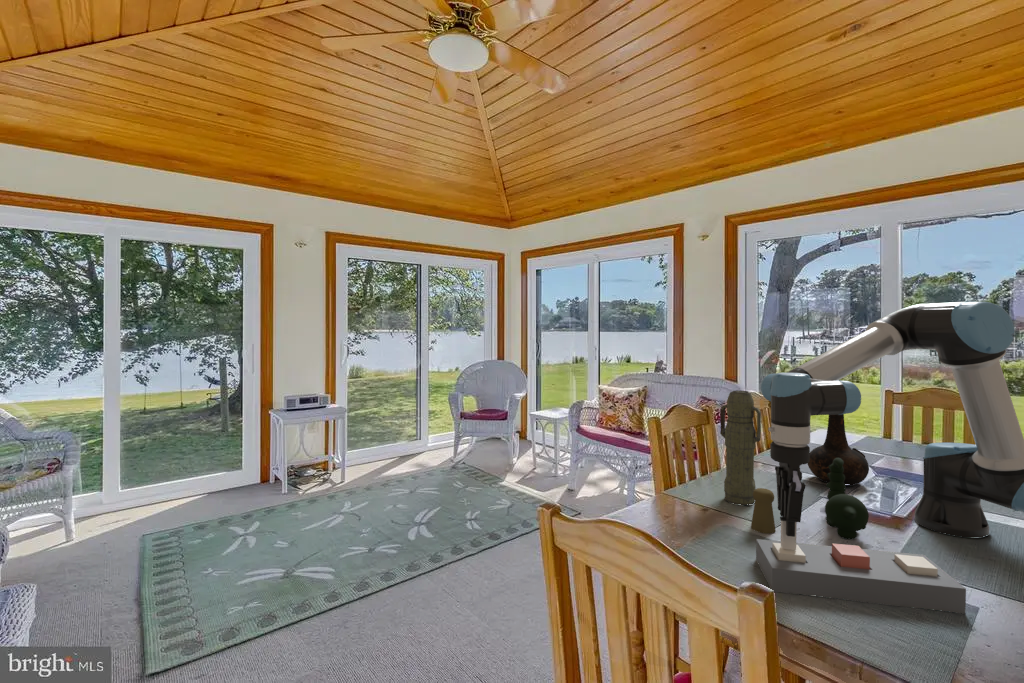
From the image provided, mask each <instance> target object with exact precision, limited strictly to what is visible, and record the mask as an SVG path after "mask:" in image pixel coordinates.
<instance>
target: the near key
mask: <svg viewBox="0 0 1024 683" xmlns="http://www.w3.org/2000/svg"><path fill="white" fill-rule="evenodd" d="M894 562H895V563H896V564H897V565H898V566H899V567H900V568H901V569H902V570H903V571H904V572H905V573H908V574H917V575H927V576H937V575H938V569H937V568H936V567H935V566H933V565H932V564H931V563H930V562H929V561H927V560H926V559H925V558H924V557H919V556H909V555H898V554H895V556H894Z"/></svg>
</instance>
